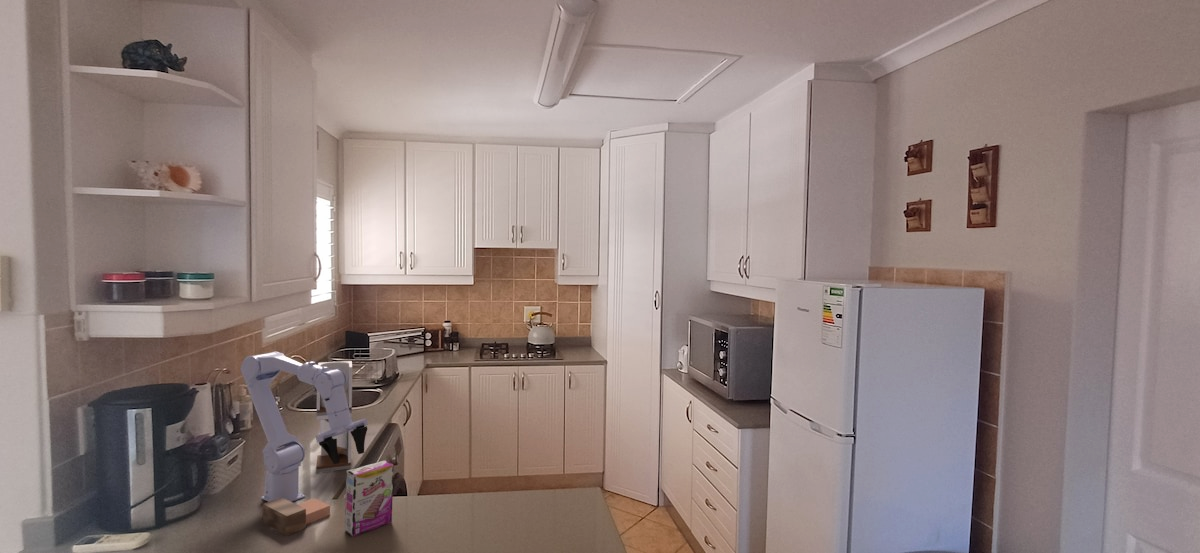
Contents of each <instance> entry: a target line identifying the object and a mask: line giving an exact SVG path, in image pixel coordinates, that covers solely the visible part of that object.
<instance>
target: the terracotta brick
mask: <svg viewBox="0 0 1200 553" xmlns="http://www.w3.org/2000/svg"><path fill="white" fill-rule="evenodd" d="M296 504H297V505H299V506H301V507H303V508H305V509H306V525H308V524H311V523H313V522H315V521H318V520H320V519H323V518H326V517H328V516H330V515H331V505H330V504H328V503H326V502H323V501H321V500H319V499H316V498H311V499H308V500H305V501H302V502H300V503H296Z"/></svg>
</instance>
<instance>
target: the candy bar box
mask: <svg viewBox="0 0 1200 553" xmlns="http://www.w3.org/2000/svg"><path fill="white" fill-rule="evenodd" d="M394 468H395V467H394V464H393V463H391V462H390V461H388V460H381V461H378V462H373V463H370V464H367V465H362V466H360V467H355V468H351V469H346V472H345V473H346V478H345V509H344V510H345V512H344V513H345V516H344V532H346V533H347V534H348V535H350V536H351V537H357V536H359V535H360V534H364V533H367V532H369V531H372V530H375V529H377V528H380V527H383V526H385V525H388V524H391V523H392V522H393V493H394V492H393V491H394V490H393V489H394V487H393V486H394Z"/></svg>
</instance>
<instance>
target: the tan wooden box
mask: <svg viewBox="0 0 1200 553" xmlns="http://www.w3.org/2000/svg"><path fill="white" fill-rule="evenodd" d="M297 504H298V503H295V502H294V501H292V502H291V501H288V500H286V499H284V498H279V499H276V500H273V501H270V502H268V501H266V502H265V503H262V523H263V524H265V525H266V526H267V527H269V528H272V529H273V530H275V531H277V532H278V533H281V534H283V535H284V536H286V537H287V536H290V535H292V534H294V533H298V532H300V531H301V530H305V529H307V528H306V527H307V524H306V509H305V508H303V507H301V506H299V505H297Z"/></svg>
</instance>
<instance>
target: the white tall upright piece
mask: <svg viewBox="0 0 1200 553" xmlns="http://www.w3.org/2000/svg"><path fill="white" fill-rule="evenodd" d="M317 365H319V366H322V367H328V369H330V370H333V369H336V368H339V369H340V370H342V371H343V372H344V373H345V375H346V383H345V385H344V391H345V395H346V399H347V403H348V407H349V411H350V416H351V420H352V418H353V417H352V414H353V413H352V412H353V411H352V410H353V407H352V405H353V362H352V360H344V361H342V360H341V361H328V362H327V361H325V362H324V361H323V362H322V361H321V362H318V363H317ZM316 421H319V434H321V433H324V432H326V431H329V430H331V429H330V425H329V420H328V416H327V412H326V408H325V403H324V399H322V397H321V395H320V393H319V391H317V390H316ZM352 421H353V420H352ZM349 429H351V428H349ZM345 430H348V429H345ZM345 430H342V431H339V432H338V433H340V432H343V431H345ZM351 431H352V430H351ZM351 431H348V432H345V433H343V434H340V435H337V436H334V437H332V438H333V439H337V451H338V455H339V460H340V463H338V464H333V462H332V460H331V458H330V456H329V455H328V453H327V452H326V451H325V450H324V449H323V448H322V447H321V446H320V447H321V448H320V449H321V450H320V454H319V455H317V458H316V465H315V474H318V473H319V474H320V473H325V472H335V471H336V472H337V471H344V470H351V469H352V434H351V433H350V432H351ZM333 435H334V434H333Z"/></svg>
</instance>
